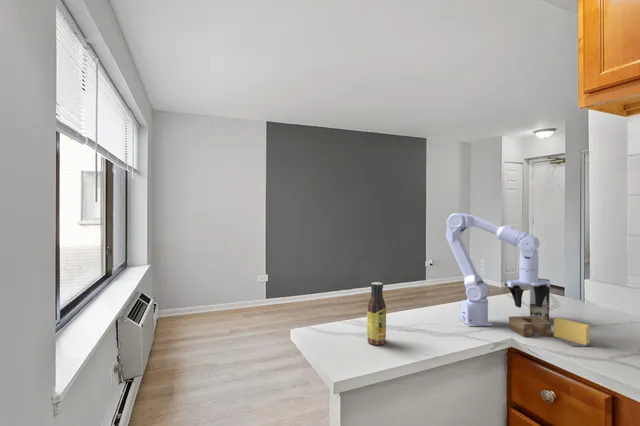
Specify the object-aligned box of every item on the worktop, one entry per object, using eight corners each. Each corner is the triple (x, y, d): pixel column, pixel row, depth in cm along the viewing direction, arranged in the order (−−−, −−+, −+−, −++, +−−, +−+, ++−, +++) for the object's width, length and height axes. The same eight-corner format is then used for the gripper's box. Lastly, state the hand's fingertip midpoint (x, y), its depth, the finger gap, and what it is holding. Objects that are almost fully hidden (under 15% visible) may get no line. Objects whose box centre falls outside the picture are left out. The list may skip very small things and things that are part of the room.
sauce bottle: (381, 347, 104) (381, 286, 103) (363, 343, 107) (364, 284, 107) (388, 340, 109) (388, 282, 109) (371, 336, 112) (371, 280, 112)
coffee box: (548, 324, 124) (549, 283, 124) (529, 321, 128) (529, 281, 128) (549, 318, 131) (550, 279, 131) (530, 315, 135) (531, 277, 135)
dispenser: (523, 337, 112) (523, 323, 112) (508, 328, 120) (508, 315, 120) (550, 336, 113) (551, 322, 113) (534, 328, 121) (534, 315, 121)
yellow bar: (586, 345, 104) (586, 327, 104) (553, 336, 112) (554, 319, 112) (589, 343, 106) (589, 325, 106) (557, 334, 114) (557, 317, 114)
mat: (572, 346, 104) (572, 345, 104) (546, 333, 115) (546, 332, 115) (593, 346, 105) (593, 345, 105) (565, 333, 116) (565, 332, 116)
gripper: (516, 271, 110) (516, 310, 110) (557, 270, 111) (556, 309, 111) (503, 267, 117) (503, 304, 117) (541, 267, 118) (541, 303, 118)
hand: (528, 306), depth 115 cm, fingers open, 7 cm apart
